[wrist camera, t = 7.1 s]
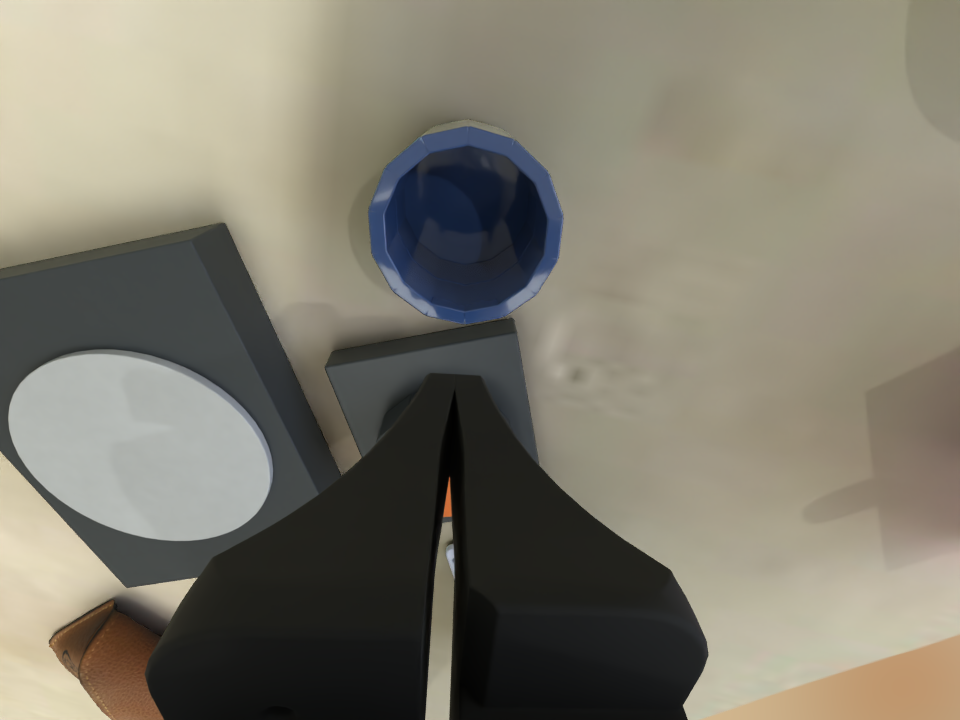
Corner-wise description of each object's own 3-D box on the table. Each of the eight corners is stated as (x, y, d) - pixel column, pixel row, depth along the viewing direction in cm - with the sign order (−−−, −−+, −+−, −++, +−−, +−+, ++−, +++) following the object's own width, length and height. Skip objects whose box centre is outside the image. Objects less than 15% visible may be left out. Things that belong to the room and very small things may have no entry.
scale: (360, 515, 25) (348, 562, 22) (154, 547, 26) (121, 595, 23) (225, 221, 17) (183, 243, 15) (-63, 281, 18) (-149, 311, 16)
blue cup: (547, 255, 18) (572, 305, 14) (413, 281, 19) (397, 337, 14) (529, 104, 16) (552, 107, 11) (374, 138, 16) (339, 152, 12)
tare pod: (542, 487, 24) (551, 534, 22) (395, 510, 25) (387, 558, 22) (513, 317, 19) (520, 351, 17) (331, 350, 20) (311, 388, 17)
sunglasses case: (34, 647, 29) (-18, 741, 23) (130, 561, 31) (103, 630, 25) (251, 747, 37) (252, 838, 31) (319, 675, 39) (332, 748, 33)
